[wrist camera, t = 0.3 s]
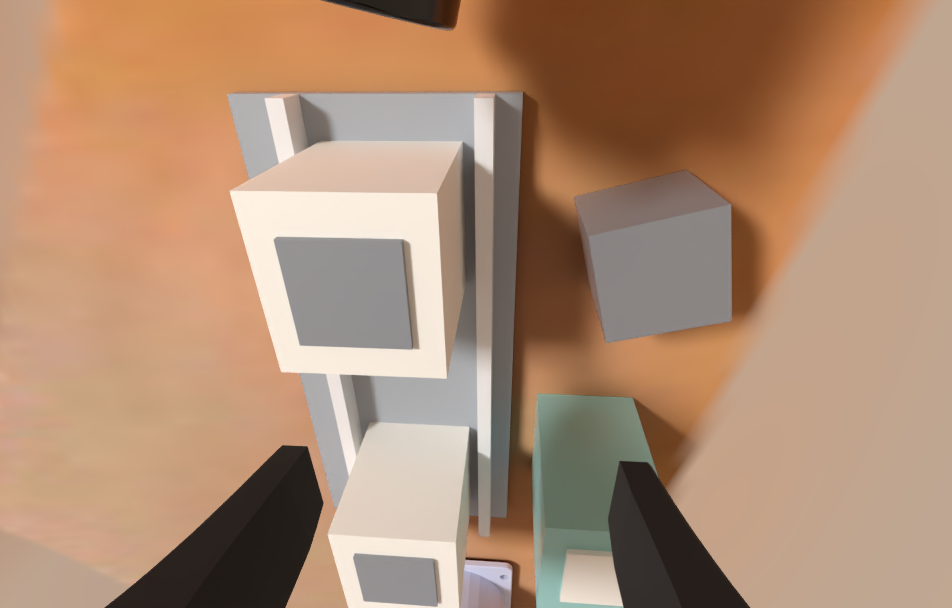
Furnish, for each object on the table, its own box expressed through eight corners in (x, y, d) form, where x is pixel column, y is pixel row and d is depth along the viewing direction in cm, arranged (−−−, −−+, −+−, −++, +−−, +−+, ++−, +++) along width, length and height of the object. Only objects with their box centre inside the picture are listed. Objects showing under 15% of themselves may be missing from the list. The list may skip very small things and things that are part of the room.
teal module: (615, 475, 25) (649, 623, 18) (531, 470, 25) (536, 615, 19) (632, 397, 22) (679, 541, 16) (537, 393, 22) (545, 533, 16)
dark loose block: (691, 267, 18) (731, 321, 15) (589, 287, 19) (606, 343, 16) (685, 169, 16) (731, 204, 13) (573, 196, 17) (588, 235, 14)
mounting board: (506, 508, 27) (504, 642, 21) (337, 498, 27) (289, 625, 21) (522, 91, 15) (526, 126, 10) (236, 92, 16) (76, 125, 10)
